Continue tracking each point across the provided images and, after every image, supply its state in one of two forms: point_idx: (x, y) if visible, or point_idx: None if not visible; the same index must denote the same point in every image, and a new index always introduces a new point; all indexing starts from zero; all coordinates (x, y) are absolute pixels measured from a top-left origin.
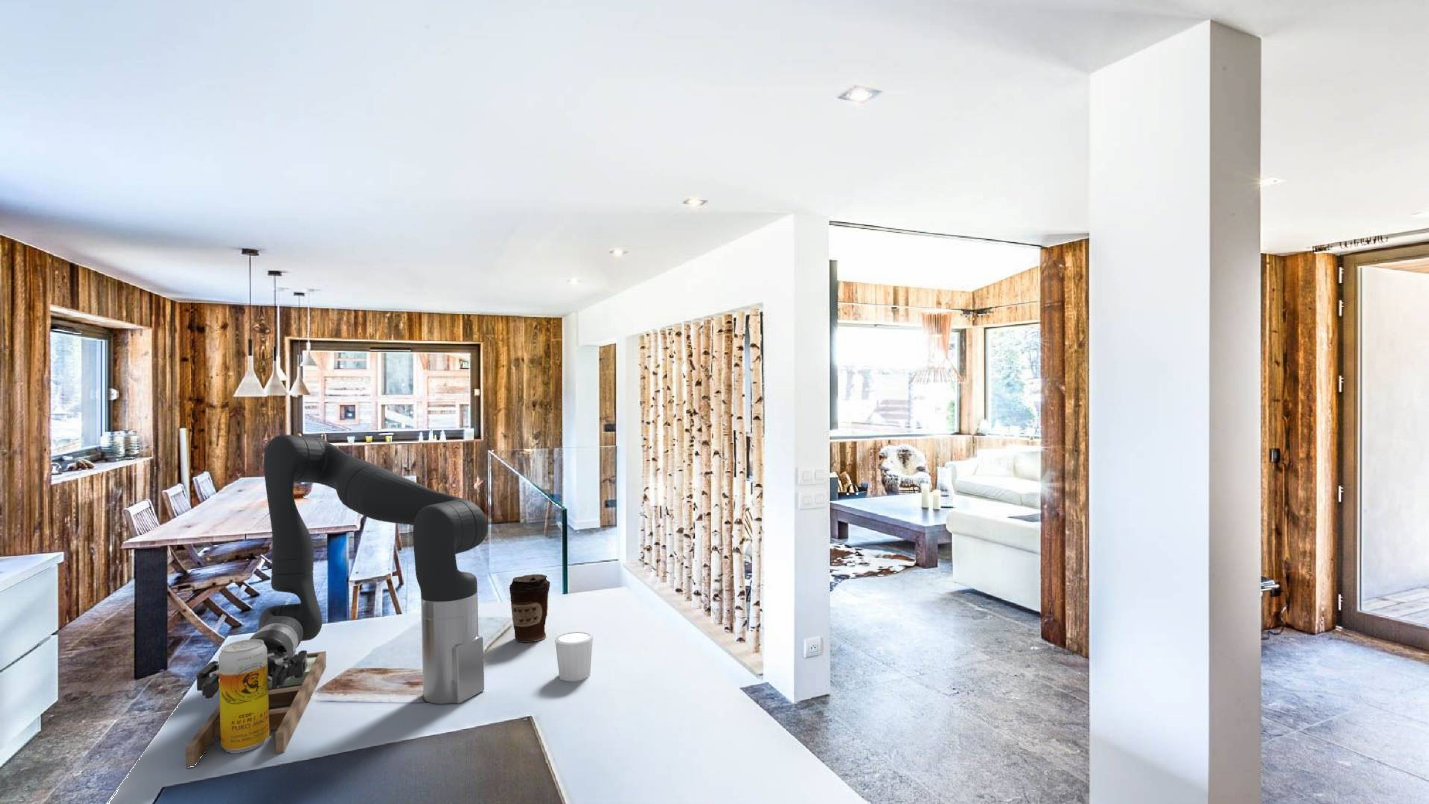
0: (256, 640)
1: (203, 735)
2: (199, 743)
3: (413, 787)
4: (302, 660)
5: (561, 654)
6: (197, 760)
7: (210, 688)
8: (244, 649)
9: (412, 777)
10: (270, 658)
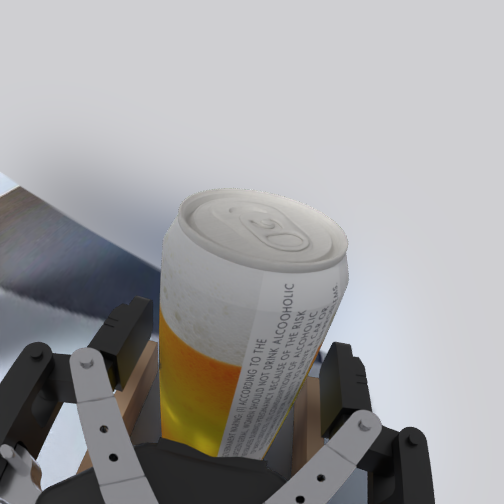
0: (208, 241)
1: (306, 428)
2: (304, 407)
3: (68, 223)
4: (23, 353)
5: None
6: (295, 411)
7: (330, 347)
8: (251, 203)
9: (57, 232)
10: (126, 431)
